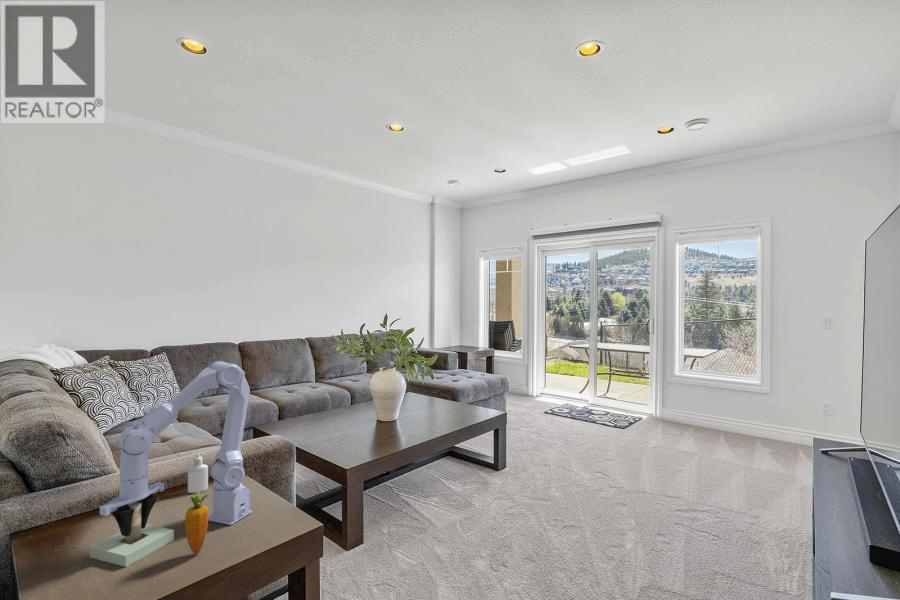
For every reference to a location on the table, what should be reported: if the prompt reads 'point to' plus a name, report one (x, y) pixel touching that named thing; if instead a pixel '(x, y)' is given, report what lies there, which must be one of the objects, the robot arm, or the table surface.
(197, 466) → the eye dropper bottle
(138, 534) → the ash wood peg
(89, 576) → the table surface
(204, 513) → the carrot
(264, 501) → the table surface
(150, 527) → the hole block
